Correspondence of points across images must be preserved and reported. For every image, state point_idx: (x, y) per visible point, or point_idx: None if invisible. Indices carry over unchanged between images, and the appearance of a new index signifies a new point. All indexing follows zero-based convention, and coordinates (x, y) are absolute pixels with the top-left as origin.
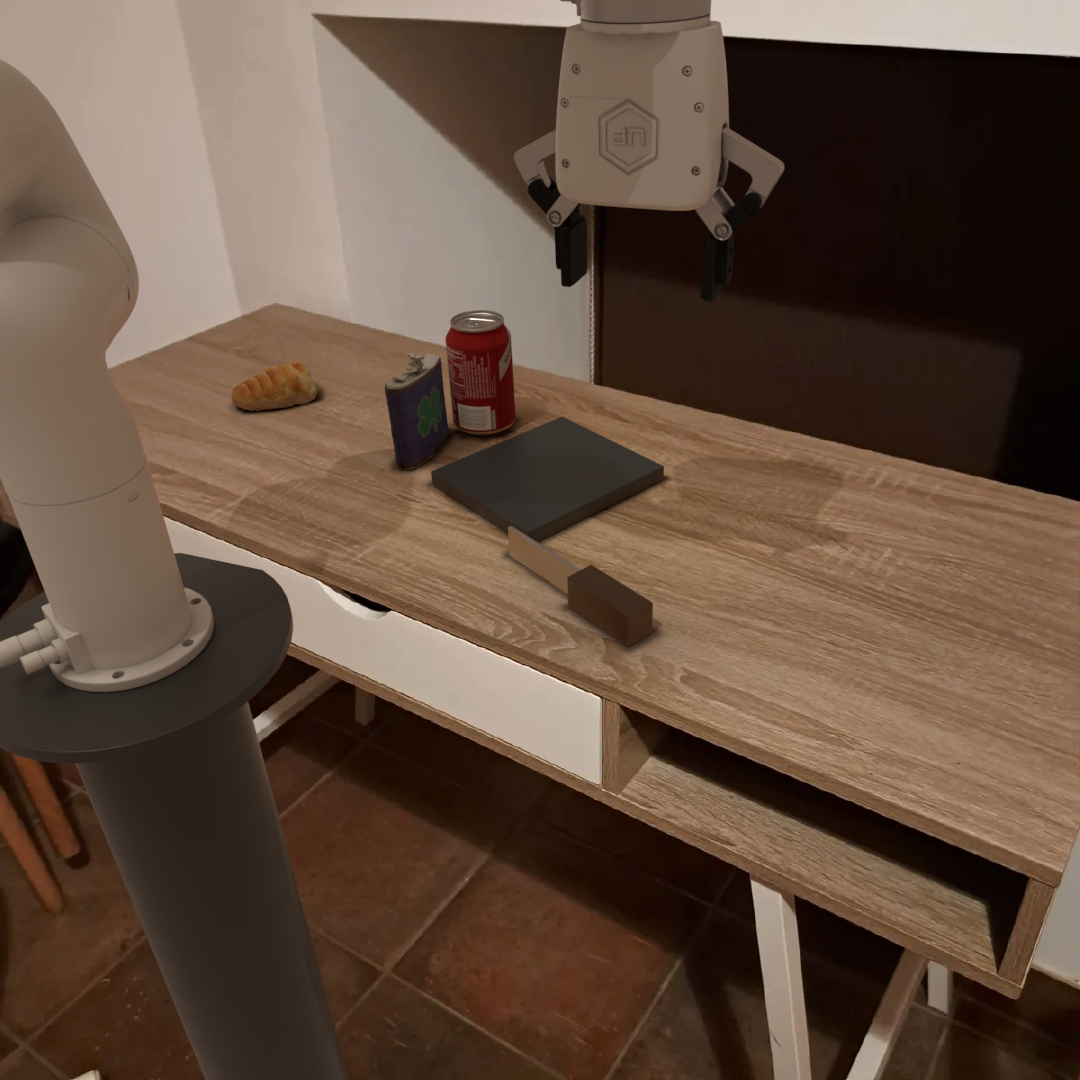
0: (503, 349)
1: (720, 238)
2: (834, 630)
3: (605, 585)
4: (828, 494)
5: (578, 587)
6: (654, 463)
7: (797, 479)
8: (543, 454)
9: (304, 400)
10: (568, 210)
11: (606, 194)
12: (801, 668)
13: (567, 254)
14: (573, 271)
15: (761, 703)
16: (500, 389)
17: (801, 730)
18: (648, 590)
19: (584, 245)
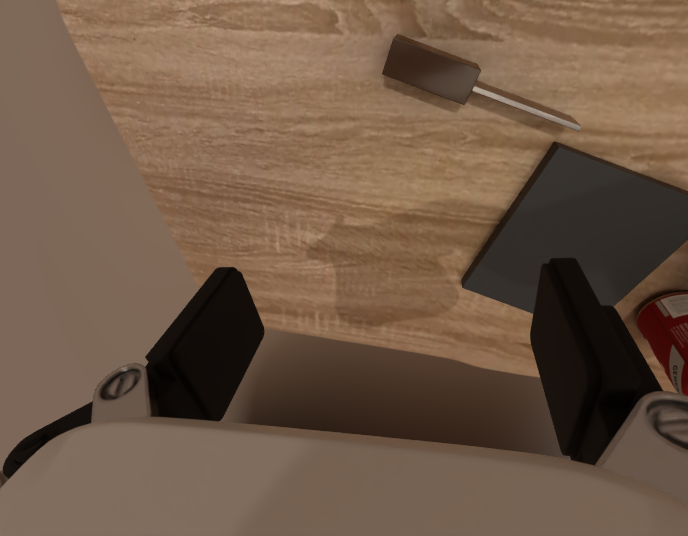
0: (684, 377)
1: (136, 367)
2: (266, 146)
3: (436, 76)
4: (339, 296)
5: (464, 63)
6: (471, 288)
7: (365, 306)
8: (585, 273)
9: None
10: (626, 449)
11: (407, 487)
12: (263, 88)
13: (578, 314)
14: (549, 293)
15: (267, 24)
16: (667, 337)
17: (227, 8)
18: (414, 128)
19: (547, 383)
